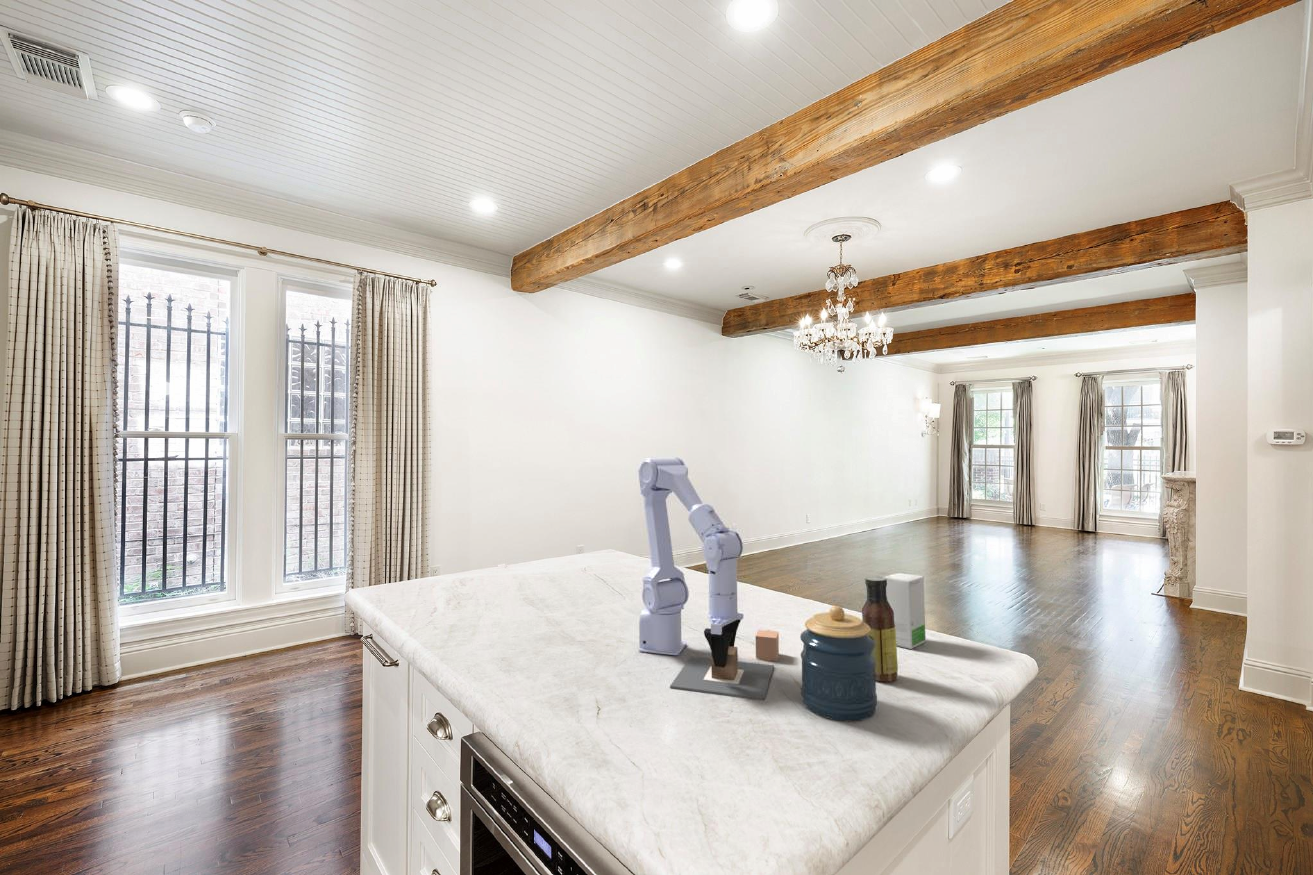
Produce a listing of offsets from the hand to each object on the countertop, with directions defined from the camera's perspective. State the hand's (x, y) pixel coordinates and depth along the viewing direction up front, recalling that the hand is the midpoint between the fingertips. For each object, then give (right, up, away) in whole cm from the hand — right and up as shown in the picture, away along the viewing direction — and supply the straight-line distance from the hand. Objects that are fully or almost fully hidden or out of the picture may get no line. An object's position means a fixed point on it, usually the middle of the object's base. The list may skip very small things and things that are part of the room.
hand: (723, 659), depth 112 cm
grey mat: (0, -4, 0) cm, 4 cm away
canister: (+19, -3, -13) cm, 23 cm away
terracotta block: (+11, -4, +11) cm, 16 cm away
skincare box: (+45, -4, +19) cm, 49 cm away
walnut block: (0, -3, 0) cm, 3 cm away
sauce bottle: (+31, -4, -1) cm, 32 cm away
